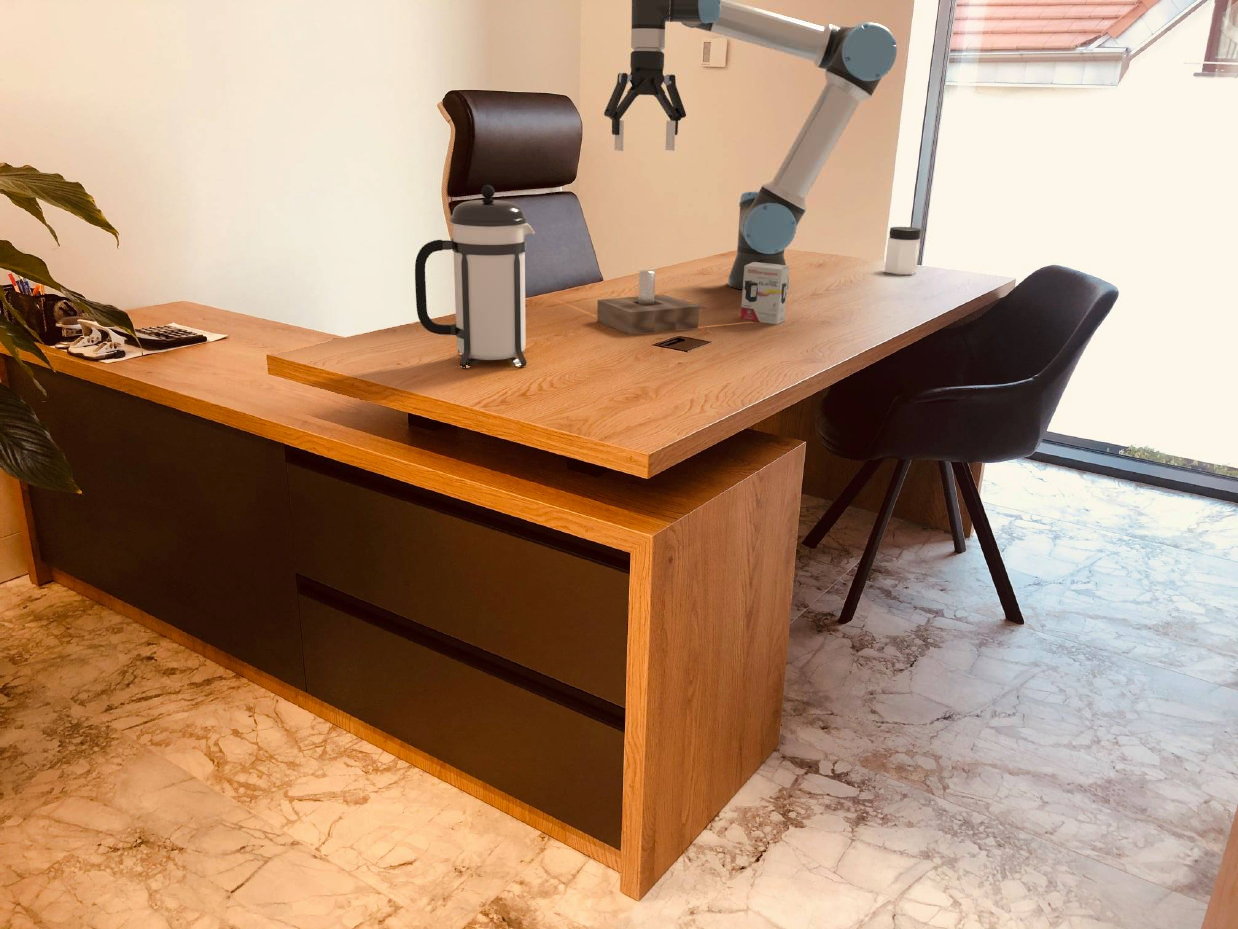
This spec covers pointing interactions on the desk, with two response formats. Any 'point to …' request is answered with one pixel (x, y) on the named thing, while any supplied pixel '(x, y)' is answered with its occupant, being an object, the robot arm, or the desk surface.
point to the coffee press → (483, 280)
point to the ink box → (764, 292)
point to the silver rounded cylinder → (646, 287)
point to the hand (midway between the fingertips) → (644, 150)
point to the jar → (902, 250)
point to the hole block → (647, 314)
